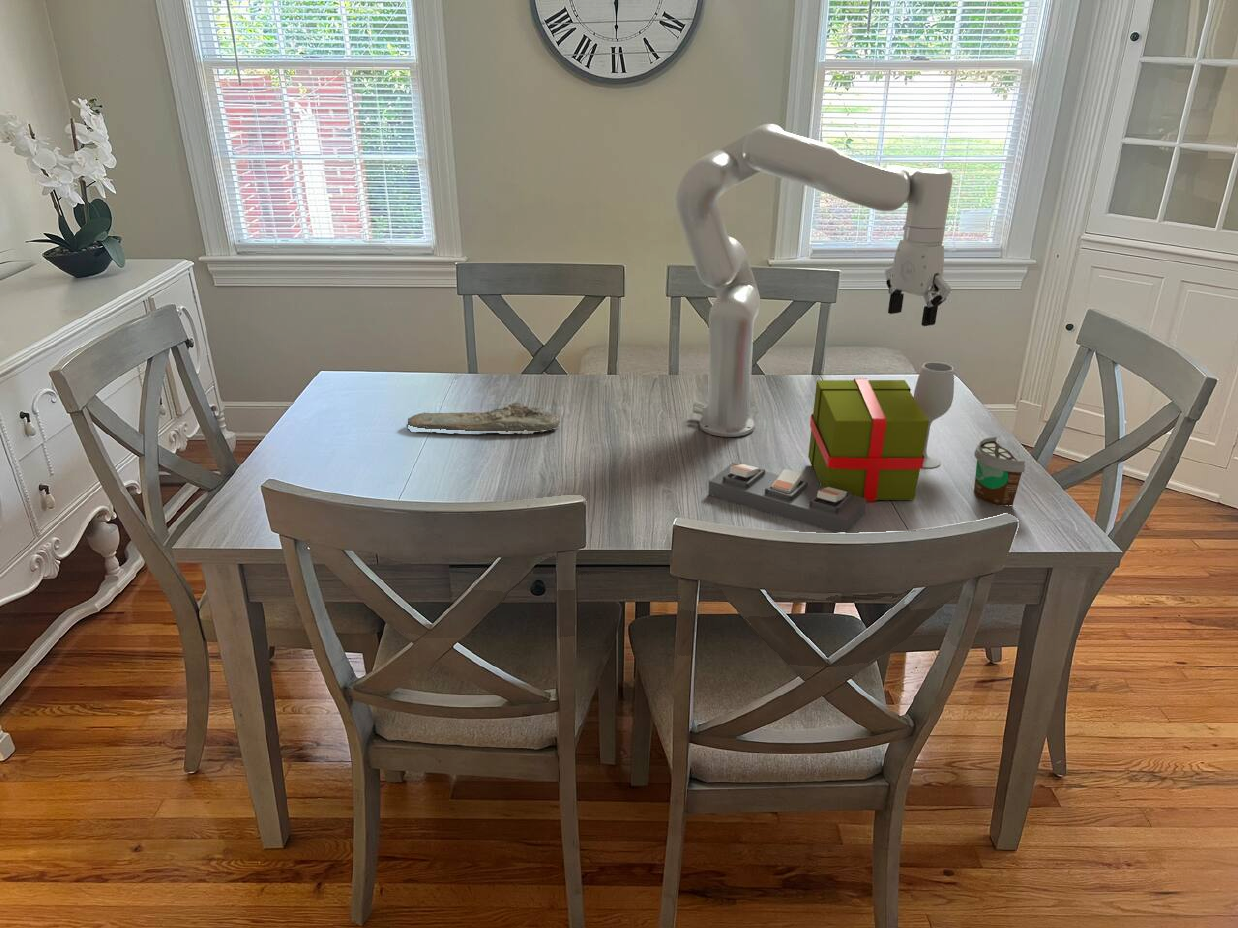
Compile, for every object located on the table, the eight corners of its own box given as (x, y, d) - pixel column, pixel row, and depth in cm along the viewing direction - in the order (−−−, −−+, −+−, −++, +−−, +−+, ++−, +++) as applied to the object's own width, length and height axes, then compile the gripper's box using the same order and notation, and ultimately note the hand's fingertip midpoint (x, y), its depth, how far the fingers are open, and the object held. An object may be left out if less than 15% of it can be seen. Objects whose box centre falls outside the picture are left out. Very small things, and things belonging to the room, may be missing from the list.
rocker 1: (729, 472, 171) (730, 466, 171) (741, 469, 175) (743, 463, 175) (746, 477, 169) (747, 470, 169) (758, 474, 174) (759, 467, 173)
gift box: (910, 518, 171) (878, 455, 193) (949, 424, 161) (911, 369, 183) (807, 501, 170) (787, 440, 191) (840, 405, 159) (815, 352, 181)
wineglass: (922, 471, 182) (938, 375, 173) (896, 457, 188) (910, 364, 179) (949, 464, 185) (966, 369, 176) (922, 450, 191) (937, 358, 182)
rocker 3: (816, 497, 162) (818, 490, 161) (827, 492, 166) (828, 486, 166) (835, 502, 160) (836, 495, 160) (845, 497, 164) (847, 490, 164)
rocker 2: (771, 490, 167) (771, 485, 166) (784, 473, 171) (784, 468, 170) (789, 495, 165) (789, 490, 164) (802, 478, 169) (801, 472, 168)
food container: (956, 482, 178) (964, 436, 173) (986, 481, 178) (995, 435, 174) (984, 511, 167) (994, 463, 162) (1016, 510, 167) (1026, 462, 163)
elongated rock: (414, 426, 209) (404, 445, 200) (410, 405, 206) (400, 424, 197) (561, 418, 208) (558, 437, 199) (559, 398, 205) (556, 416, 196)
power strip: (708, 494, 173) (709, 476, 171) (732, 475, 180) (733, 458, 179) (845, 534, 159) (847, 515, 157) (864, 512, 166) (867, 493, 164)
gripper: (879, 228, 180) (868, 310, 187) (941, 244, 166) (927, 332, 173) (907, 225, 183) (895, 306, 190) (971, 241, 169) (956, 327, 176)
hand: (910, 319), depth 182 cm, fingers open, 9 cm apart
